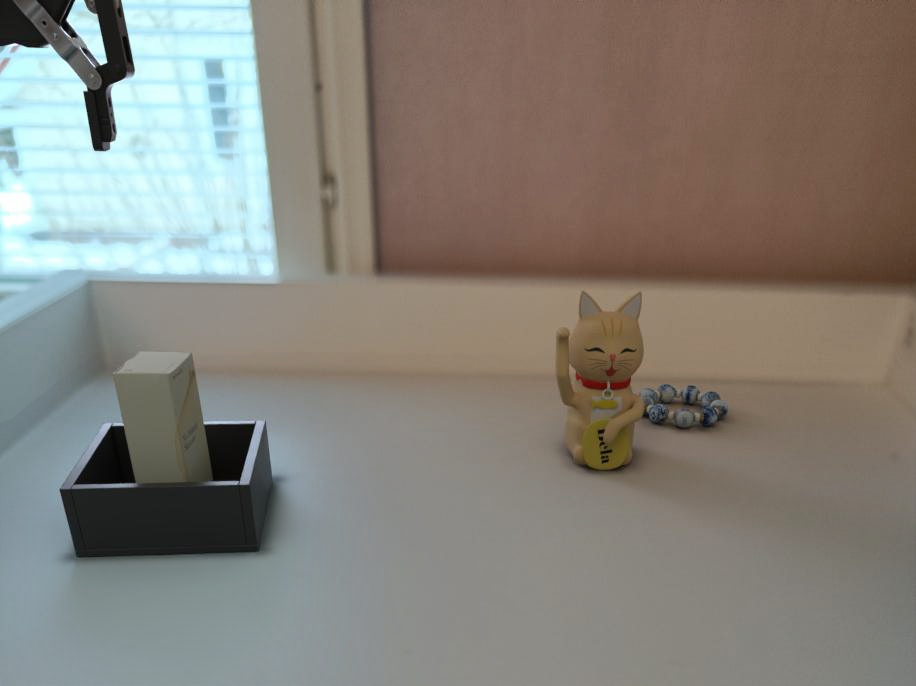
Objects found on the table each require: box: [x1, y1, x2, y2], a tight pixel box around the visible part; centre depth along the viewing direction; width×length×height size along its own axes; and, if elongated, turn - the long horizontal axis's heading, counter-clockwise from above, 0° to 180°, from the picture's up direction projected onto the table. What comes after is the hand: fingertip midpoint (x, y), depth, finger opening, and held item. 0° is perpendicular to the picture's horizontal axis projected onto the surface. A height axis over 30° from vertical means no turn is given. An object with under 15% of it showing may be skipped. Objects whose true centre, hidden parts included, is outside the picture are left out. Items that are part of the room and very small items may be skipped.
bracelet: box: [638, 383, 729, 429], centre depth 98 cm, size 10×10×2 cm
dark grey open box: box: [59, 420, 273, 558], centre depth 74 cm, size 14×14×6 cm
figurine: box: [554, 290, 645, 471], centre depth 84 cm, size 9×10×15 cm
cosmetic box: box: [112, 350, 213, 483], centre depth 72 cm, size 6×4×12 cm
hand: (40, 148), depth 65 cm, fingers open, 8 cm apart
